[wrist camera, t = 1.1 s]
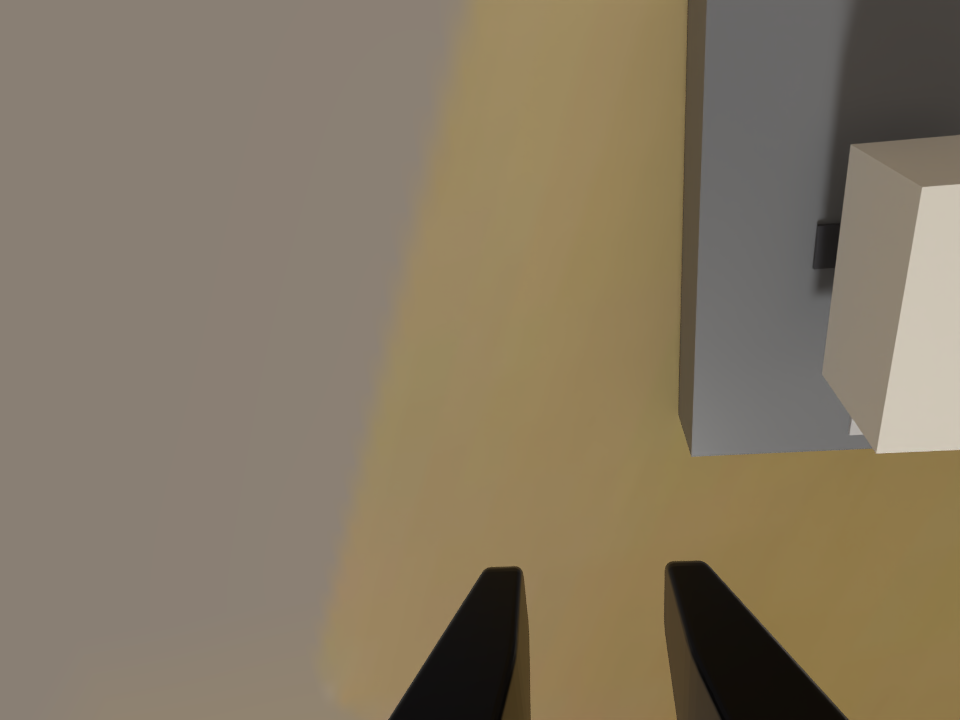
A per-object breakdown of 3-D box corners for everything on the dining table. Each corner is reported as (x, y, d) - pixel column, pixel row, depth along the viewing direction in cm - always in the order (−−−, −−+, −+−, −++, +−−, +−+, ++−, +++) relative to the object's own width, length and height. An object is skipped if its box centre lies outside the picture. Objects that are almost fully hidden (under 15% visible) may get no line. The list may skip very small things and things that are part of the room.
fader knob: (990, 119, 15) (1133, 170, 11) (944, 345, 17) (1049, 445, 14) (832, 133, 15) (922, 186, 12) (807, 353, 17) (876, 453, 14)
